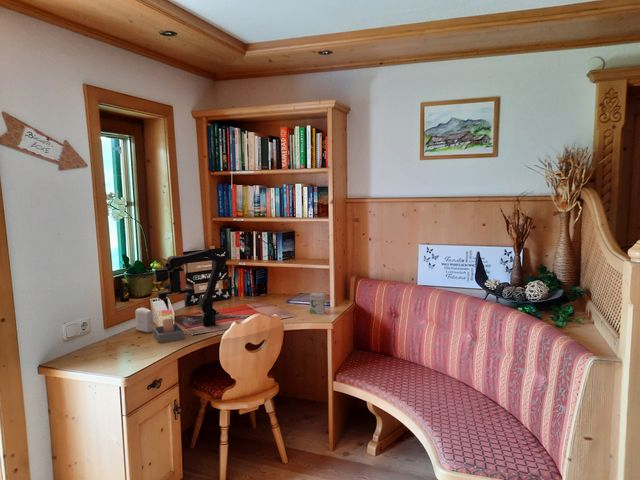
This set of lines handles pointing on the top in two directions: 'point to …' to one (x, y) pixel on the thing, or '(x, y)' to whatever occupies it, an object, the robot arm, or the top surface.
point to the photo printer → (144, 320)
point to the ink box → (317, 303)
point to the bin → (168, 334)
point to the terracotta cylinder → (168, 326)
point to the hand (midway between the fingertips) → (176, 308)
